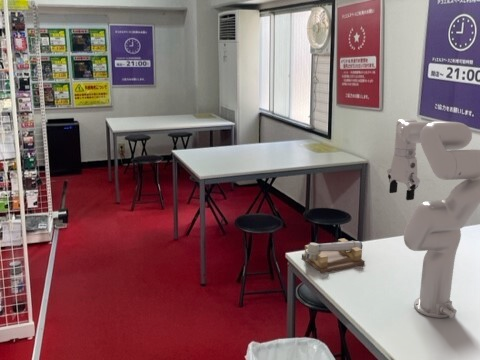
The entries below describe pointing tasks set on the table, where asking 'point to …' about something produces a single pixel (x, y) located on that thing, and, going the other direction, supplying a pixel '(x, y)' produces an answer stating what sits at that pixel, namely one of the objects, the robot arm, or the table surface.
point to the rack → (336, 259)
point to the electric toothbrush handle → (330, 247)
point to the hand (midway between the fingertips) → (401, 196)
